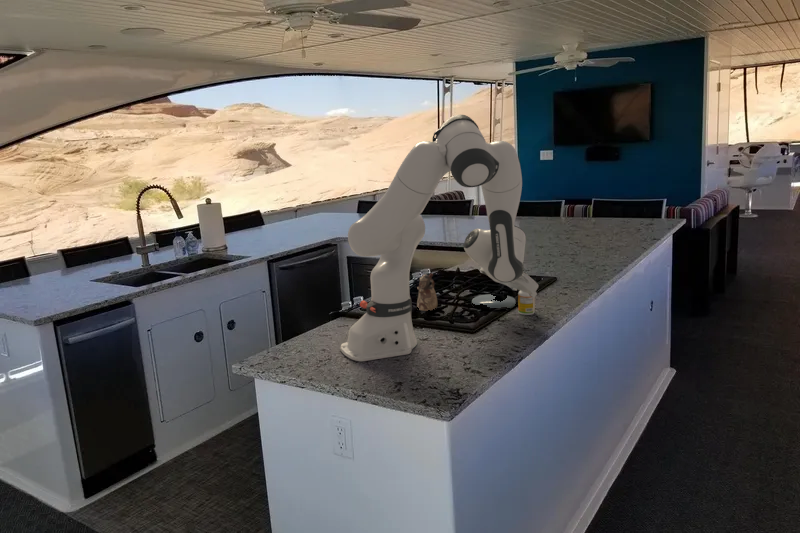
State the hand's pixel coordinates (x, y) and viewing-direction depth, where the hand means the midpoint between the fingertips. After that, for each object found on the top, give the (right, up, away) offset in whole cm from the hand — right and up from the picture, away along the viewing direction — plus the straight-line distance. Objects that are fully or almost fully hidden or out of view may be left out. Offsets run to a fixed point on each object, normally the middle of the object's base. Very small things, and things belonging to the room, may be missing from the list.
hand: (525, 292), depth 202 cm
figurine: (-31, -6, +13) cm, 34 cm away
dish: (-8, -5, +13) cm, 16 cm away
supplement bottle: (+1, -7, +3) cm, 8 cm away
